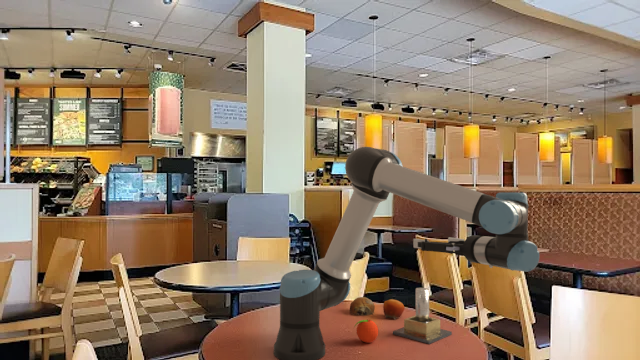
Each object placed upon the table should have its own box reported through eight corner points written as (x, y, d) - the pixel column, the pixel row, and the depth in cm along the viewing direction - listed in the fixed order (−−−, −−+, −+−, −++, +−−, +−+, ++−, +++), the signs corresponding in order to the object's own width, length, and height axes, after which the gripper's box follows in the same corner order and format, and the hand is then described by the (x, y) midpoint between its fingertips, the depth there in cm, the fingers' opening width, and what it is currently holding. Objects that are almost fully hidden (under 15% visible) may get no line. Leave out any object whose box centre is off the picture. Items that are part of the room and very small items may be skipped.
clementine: (356, 346, 136) (356, 323, 136) (350, 339, 143) (350, 317, 143) (381, 345, 138) (381, 322, 138) (374, 338, 144) (374, 316, 145)
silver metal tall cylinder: (424, 334, 145) (424, 291, 146) (412, 331, 149) (412, 289, 149) (431, 331, 149) (431, 289, 149) (420, 328, 152) (420, 287, 152)
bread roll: (376, 322, 176) (380, 302, 179) (366, 316, 168) (370, 295, 171) (354, 318, 181) (358, 298, 184) (343, 312, 173) (348, 292, 177)
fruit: (378, 316, 166) (381, 295, 170) (384, 322, 172) (387, 302, 176) (398, 318, 162) (402, 297, 166) (404, 325, 168) (407, 305, 172)
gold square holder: (429, 344, 139) (429, 328, 139) (392, 334, 149) (392, 319, 149) (451, 334, 149) (451, 319, 149) (416, 325, 159) (415, 311, 159)
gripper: (446, 266, 115) (399, 256, 134) (516, 261, 125) (462, 252, 144) (446, 237, 115) (399, 231, 134) (515, 234, 125) (462, 229, 145)
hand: (432, 242), depth 139 cm, fingers open, 13 cm apart
